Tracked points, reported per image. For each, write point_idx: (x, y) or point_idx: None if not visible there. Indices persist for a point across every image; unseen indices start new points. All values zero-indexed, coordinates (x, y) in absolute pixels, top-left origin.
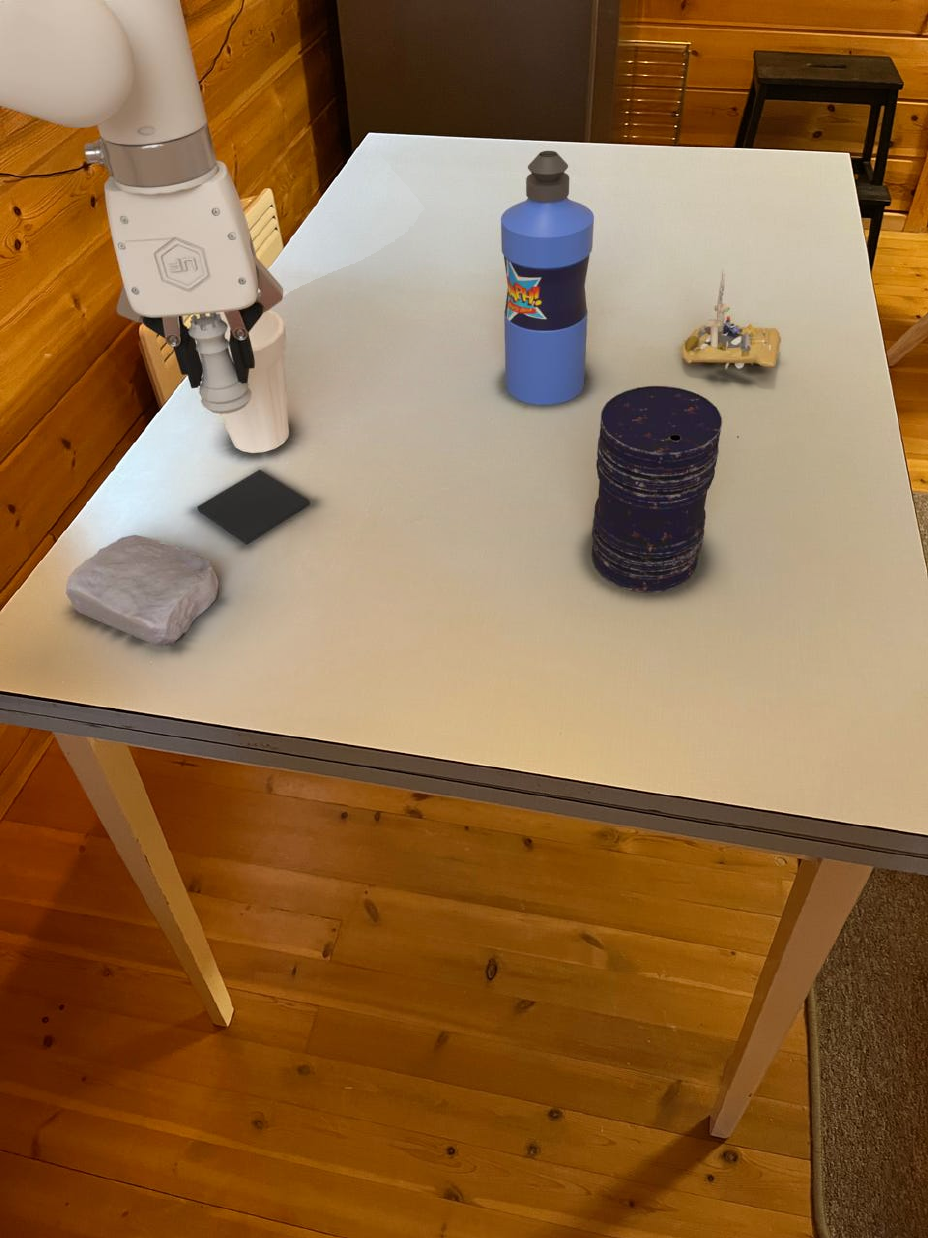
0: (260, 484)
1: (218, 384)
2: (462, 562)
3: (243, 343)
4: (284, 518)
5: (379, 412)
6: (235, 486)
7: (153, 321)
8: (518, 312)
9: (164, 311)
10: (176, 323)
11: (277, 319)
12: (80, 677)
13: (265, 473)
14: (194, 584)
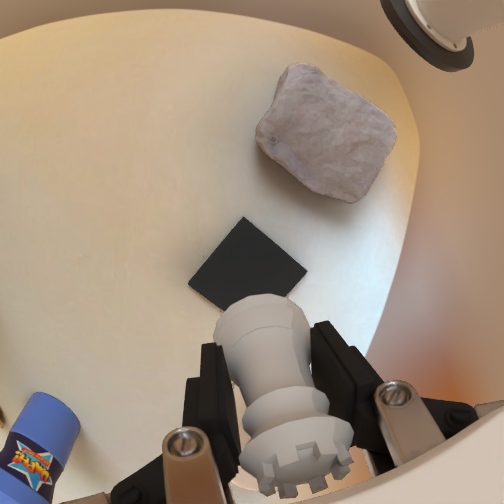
0: None
1: (267, 334)
2: (40, 200)
3: (192, 422)
4: (209, 257)
5: (160, 405)
6: None
7: (454, 419)
8: (36, 453)
9: (474, 448)
10: (399, 438)
11: (237, 482)
12: (349, 60)
13: None
14: (272, 108)
